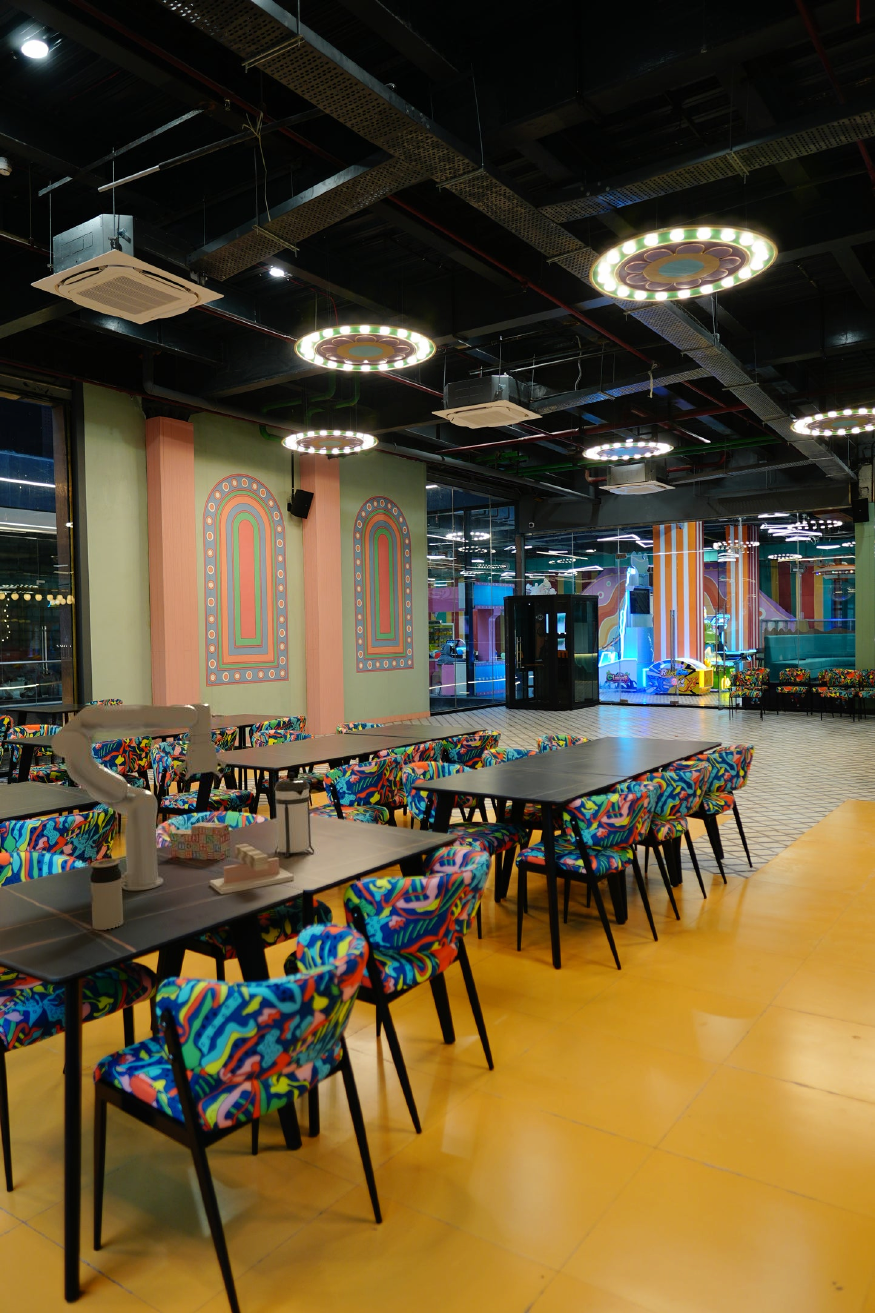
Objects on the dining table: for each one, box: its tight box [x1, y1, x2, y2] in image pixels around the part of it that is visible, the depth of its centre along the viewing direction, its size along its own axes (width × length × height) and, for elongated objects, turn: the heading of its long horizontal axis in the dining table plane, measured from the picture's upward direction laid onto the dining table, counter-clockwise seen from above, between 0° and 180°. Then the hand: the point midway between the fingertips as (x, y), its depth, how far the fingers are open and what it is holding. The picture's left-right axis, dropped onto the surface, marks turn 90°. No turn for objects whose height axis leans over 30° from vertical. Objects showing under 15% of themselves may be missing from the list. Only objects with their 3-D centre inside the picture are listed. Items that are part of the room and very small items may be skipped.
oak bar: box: [234, 843, 269, 871], centre depth 270 cm, size 20×4×4 cm, turn 32°
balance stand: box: [209, 857, 295, 895], centre depth 270 cm, size 24×12×6 cm, turn 122°
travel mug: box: [89, 858, 124, 931], centre depth 233 cm, size 8×8×18 cm
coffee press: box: [273, 772, 315, 859], centre depth 307 cm, size 17×16×30 cm
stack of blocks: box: [169, 821, 231, 861], centre depth 306 cm, size 21×6×12 cm, turn 72°
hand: (202, 788), depth 287 cm, fingers open, 9 cm apart
